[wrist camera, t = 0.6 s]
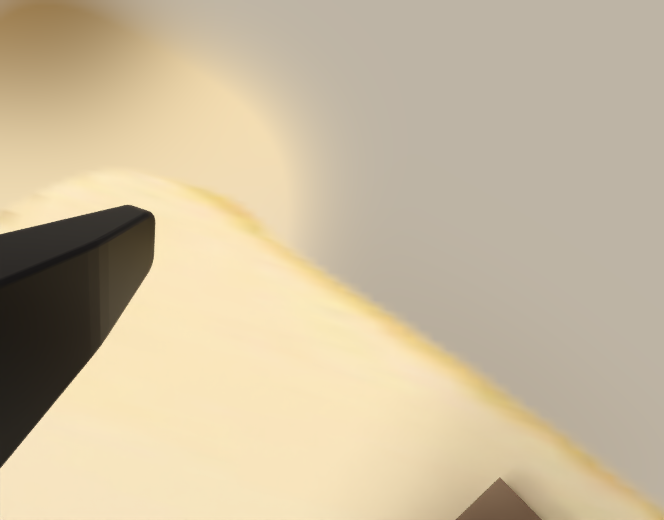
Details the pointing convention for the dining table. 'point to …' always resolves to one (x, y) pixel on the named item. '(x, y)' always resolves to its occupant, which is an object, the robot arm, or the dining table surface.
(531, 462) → the dining table surface
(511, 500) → the serving board
